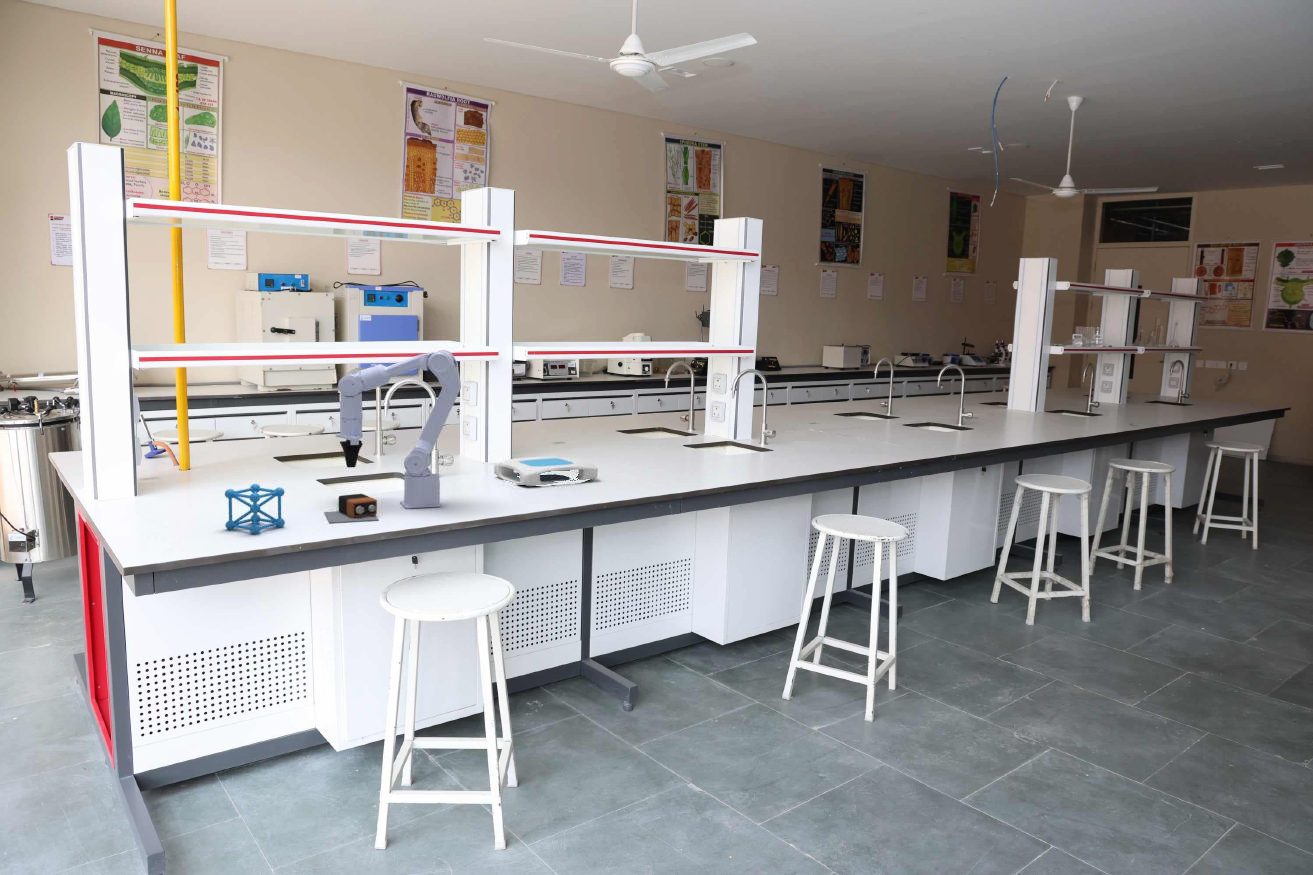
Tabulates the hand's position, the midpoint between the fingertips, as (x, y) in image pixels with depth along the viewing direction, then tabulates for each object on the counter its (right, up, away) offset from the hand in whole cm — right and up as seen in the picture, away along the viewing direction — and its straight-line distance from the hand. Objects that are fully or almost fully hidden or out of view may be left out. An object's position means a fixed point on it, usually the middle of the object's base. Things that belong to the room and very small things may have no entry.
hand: (351, 467), depth 243 cm
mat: (+5, -13, -13) cm, 19 cm away
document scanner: (+47, -6, +51) cm, 70 cm away
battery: (+2, -9, -7) cm, 12 cm away
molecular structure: (-13, -14, -29) cm, 35 cm away
